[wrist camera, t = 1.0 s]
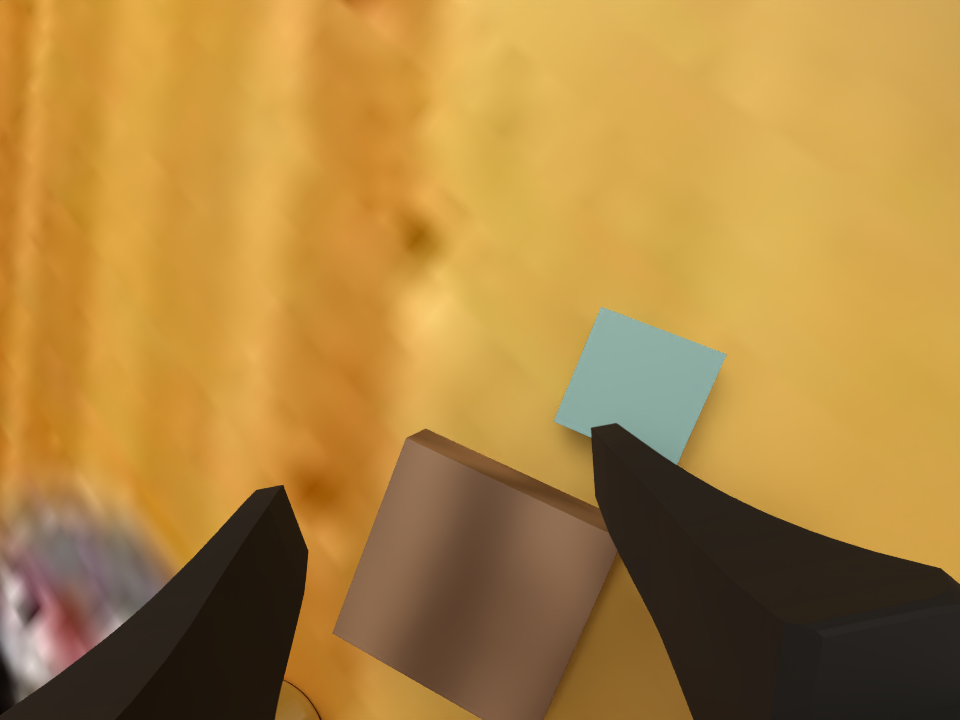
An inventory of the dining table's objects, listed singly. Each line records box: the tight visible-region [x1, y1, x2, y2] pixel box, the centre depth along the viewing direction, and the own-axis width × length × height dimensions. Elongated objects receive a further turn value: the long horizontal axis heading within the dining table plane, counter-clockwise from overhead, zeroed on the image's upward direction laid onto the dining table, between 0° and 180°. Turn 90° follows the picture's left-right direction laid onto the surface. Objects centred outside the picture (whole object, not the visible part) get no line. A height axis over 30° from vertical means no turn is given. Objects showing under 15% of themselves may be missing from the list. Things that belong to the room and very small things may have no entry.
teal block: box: [554, 307, 727, 465], centre depth 22 cm, size 4×4×5 cm
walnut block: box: [333, 429, 618, 720], centre depth 25 cm, size 10×10×3 cm
